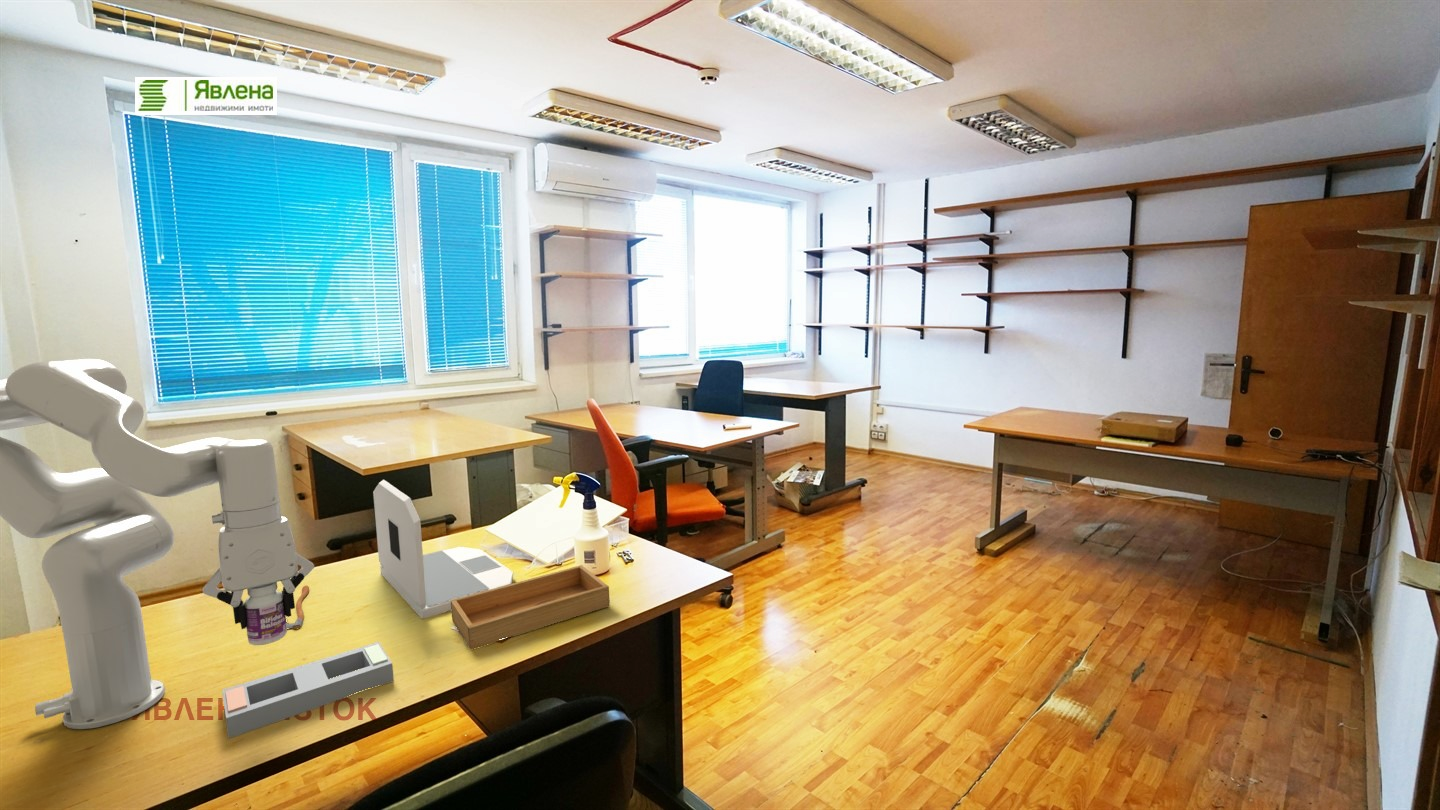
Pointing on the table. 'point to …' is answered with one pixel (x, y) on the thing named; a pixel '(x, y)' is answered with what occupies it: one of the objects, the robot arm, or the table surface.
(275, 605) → the pill bottle
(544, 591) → the tray
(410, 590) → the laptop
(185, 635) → the table surface
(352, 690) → the socket board
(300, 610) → the axe
